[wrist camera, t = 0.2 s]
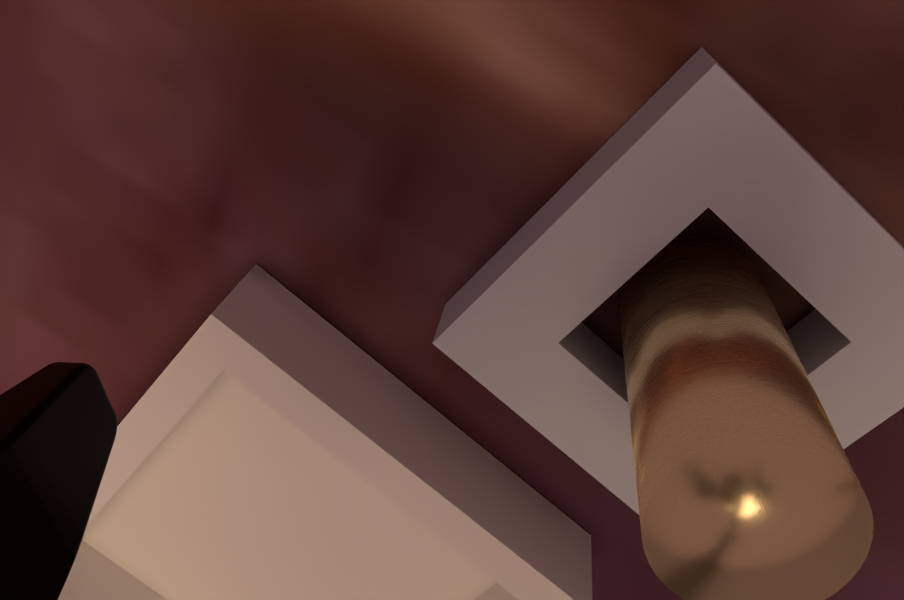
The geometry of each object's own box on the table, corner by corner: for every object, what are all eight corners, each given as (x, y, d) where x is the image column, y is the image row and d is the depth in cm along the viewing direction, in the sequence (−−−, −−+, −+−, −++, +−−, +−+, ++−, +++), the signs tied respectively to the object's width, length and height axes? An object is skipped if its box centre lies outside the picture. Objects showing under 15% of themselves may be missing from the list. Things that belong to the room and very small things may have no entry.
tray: (339, 726, 34) (315, 810, 31) (43, 518, 31) (-17, 587, 28) (591, 535, 28) (592, 614, 25) (255, 263, 26) (210, 314, 23)
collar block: (680, 502, 27) (689, 556, 25) (444, 304, 25) (432, 343, 23) (957, 299, 23) (996, 341, 21) (701, 46, 21) (716, 63, 19)
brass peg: (685, 387, 26) (744, 649, 17) (589, 302, 25) (595, 529, 16) (793, 300, 24) (922, 538, 15) (694, 207, 23) (767, 399, 14)
